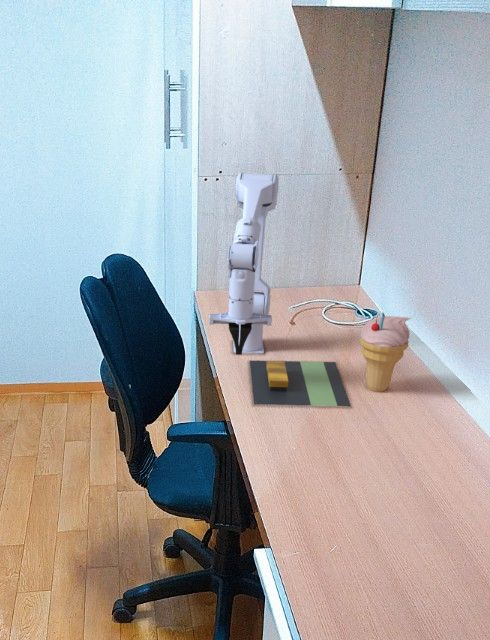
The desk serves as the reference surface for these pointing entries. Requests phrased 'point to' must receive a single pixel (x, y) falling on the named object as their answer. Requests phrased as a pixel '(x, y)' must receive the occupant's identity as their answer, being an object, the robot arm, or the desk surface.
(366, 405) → the desk surface
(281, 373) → the gold bar
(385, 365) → the ice cream cone
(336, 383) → the desk mat
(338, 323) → the desk surface
